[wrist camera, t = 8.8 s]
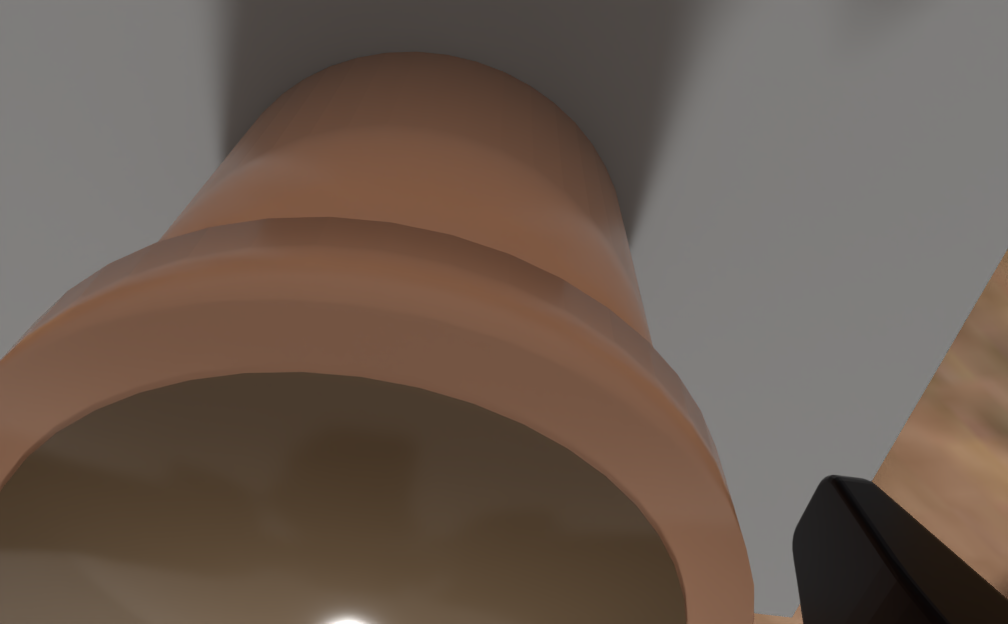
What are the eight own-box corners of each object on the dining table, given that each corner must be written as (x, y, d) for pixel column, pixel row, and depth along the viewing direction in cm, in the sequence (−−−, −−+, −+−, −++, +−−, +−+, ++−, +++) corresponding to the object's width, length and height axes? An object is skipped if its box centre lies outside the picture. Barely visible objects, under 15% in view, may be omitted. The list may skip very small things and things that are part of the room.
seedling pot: (703, 71, 9) (908, 387, 4) (591, 443, 13) (635, 859, 8) (184, -16, 9) (-239, 224, 4) (210, 392, 12) (0, 801, 7)
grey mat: (1283, -250, 8) (1299, -249, 8) (788, 608, 15) (792, 617, 15) (-424, -599, 7) (-448, -609, 7) (-47, 510, 14) (-53, 519, 14)
